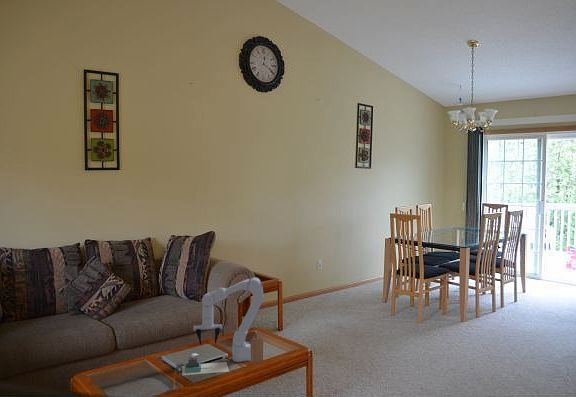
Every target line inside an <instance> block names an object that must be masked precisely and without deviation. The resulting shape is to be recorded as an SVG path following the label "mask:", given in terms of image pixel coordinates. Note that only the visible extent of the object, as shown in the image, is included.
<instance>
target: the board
mask: <svg viewBox="0 0 576 397" xmlns="http://www.w3.org/2000/svg"><path fill="white" fill-rule="evenodd" d="M184 365H185V366H181V370H182V371H181V372H182V373H181V374H182V375H181V376H190V375H192V376H193V375H202V374H204V375H205V374H215V373H226V372H227V373H228V372H229V373H230V370H229V366H228V363H227V361H223V362H221V361H220V362H209V363H208V362H207V363H201V362H200V361H197V367H192V368H188V362H184Z"/></svg>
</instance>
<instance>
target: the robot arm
mask: <svg viewBox="0 0 576 397" xmlns="http://www.w3.org/2000/svg"><path fill="white" fill-rule="evenodd" d="M263 288H264V287H263V283H262V281H261V280H260V278H258V277H256V276H253V277H251V278H247V279H244V280H242V281H240V282H237V283H235V284H233V285H232V286H228V287H227V288H226V287H218V288H217V289H215V290H213V291H209V292H207V293H205V294H204V295H203V296H202V298H201V303H202V304H201V305H202V308H201V312H202V313H201V314H202V315H201V316H202V321H201V322H202V323H201V324H200V325H199V324H198V325H193V331H194V332H195V333H196V335H197V338H198V342H199V345H202V337H201V336H202V331H205V330H214V344H217V340H218V337H219V335H220V333H221V330H223V324H219V323H218V324H216V323H215V322H214V315H215V314H214V303H217V302H221V301H222V300H223V301H224V300H225V299H227V298H228V295H230V294H233V293H236V292H238V291H241V290H244V291H248V290H249V291H250V293H251V294H252V296H253V300H252V301H251V303H250V306H249V308H248V309H247V312H246V313H245V316H244V318H243V320H242V322H241V324H240V325H239V327H238V328H237V329H236V330H235V331H234V334H233V338H232V361H233V362H235V363H236V362H237V363H238V362H239V363H240V362H248V361H252V352H251V351H252V349H251V348H252V347H251V343H247V341H246V337H247V334H248V332H249V329H250V327H251V325H252V323H253V321H254V319H255V317H256V315H257V313H258V312H259V309H260V307H261V305H262V304H263V302H264V297H265V296H264V289H263Z"/></svg>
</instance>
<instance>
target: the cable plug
mask: <svg viewBox="0 0 576 397" xmlns="http://www.w3.org/2000/svg"><path fill="white" fill-rule="evenodd" d="M197 362H198V357H197V356H194V355H192V356H188V361H187V363H188V368H192V367H197Z"/></svg>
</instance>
